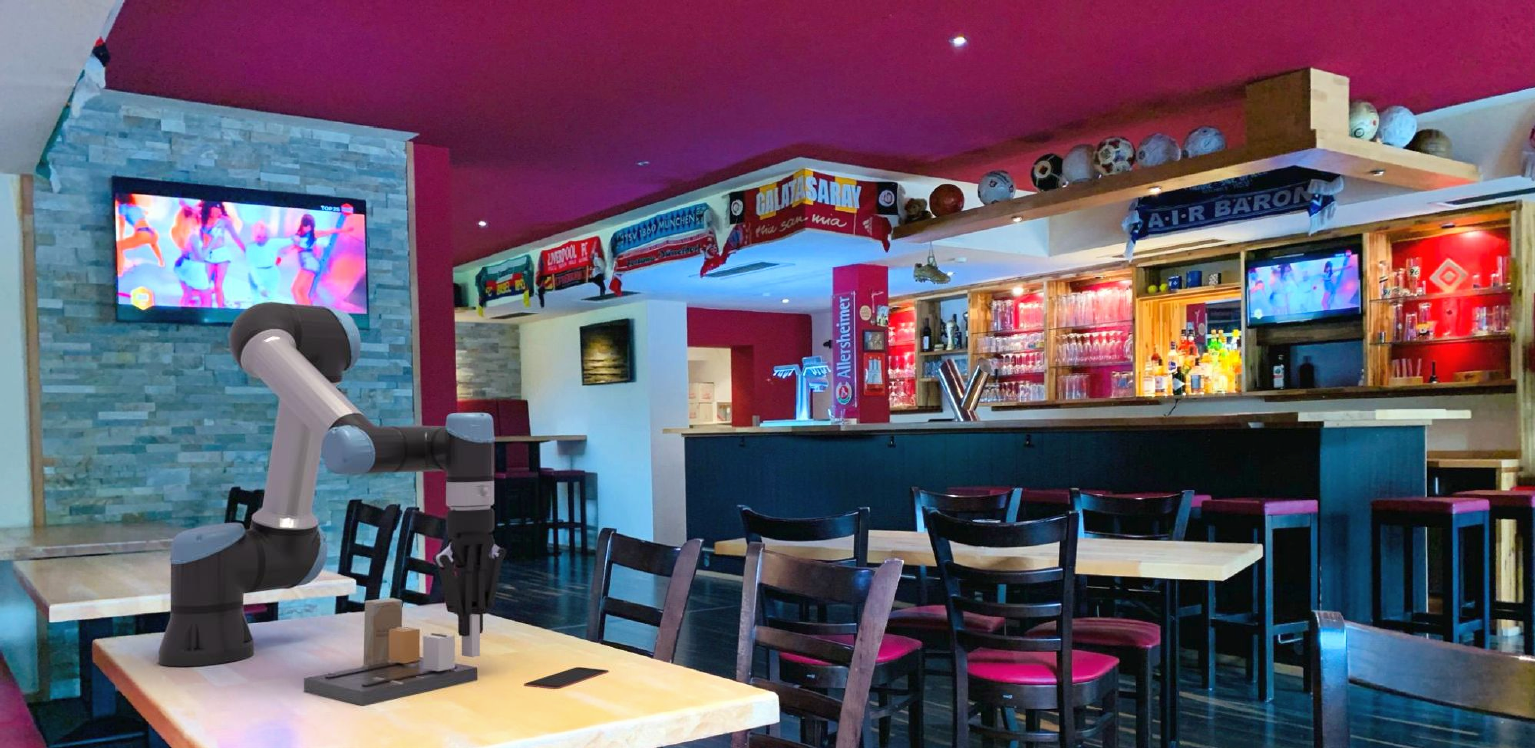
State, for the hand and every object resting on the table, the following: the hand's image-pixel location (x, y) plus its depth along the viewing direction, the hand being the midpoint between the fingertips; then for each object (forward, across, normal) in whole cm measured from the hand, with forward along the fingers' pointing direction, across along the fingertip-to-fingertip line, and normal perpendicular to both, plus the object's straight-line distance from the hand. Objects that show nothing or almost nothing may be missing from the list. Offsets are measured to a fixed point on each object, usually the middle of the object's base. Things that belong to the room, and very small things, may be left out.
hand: (470, 655), depth 177 cm
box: (+4, -3, +20) cm, 21 cm away
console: (+3, -11, +5) cm, 13 cm away
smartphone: (+4, +8, -14) cm, 17 cm away
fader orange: (+1, -6, +10) cm, 11 cm away
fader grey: (+1, -6, 0) cm, 6 cm away
